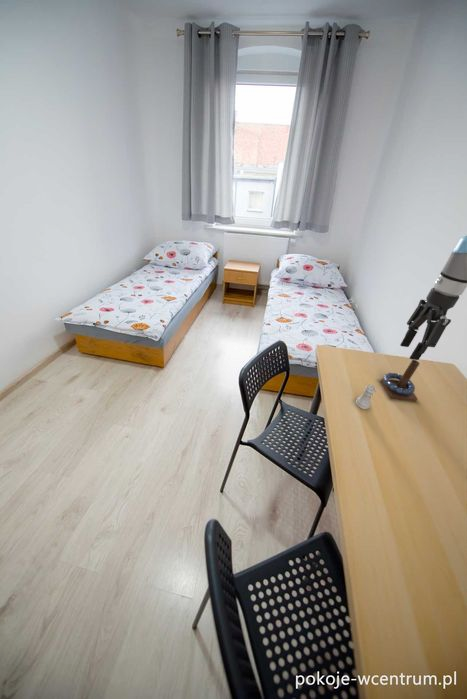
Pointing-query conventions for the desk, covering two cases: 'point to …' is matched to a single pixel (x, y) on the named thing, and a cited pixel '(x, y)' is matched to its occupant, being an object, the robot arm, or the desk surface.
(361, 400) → the rook chess piece
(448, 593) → the desk surface
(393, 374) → the ring
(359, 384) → the desk surface
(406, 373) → the stand
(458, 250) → the robot arm
